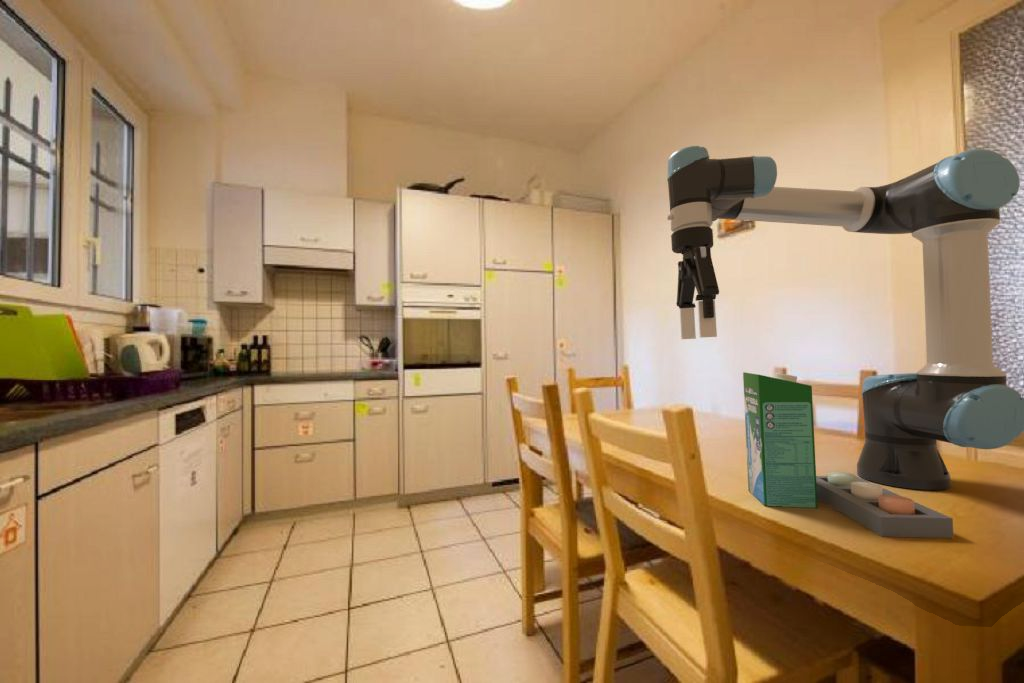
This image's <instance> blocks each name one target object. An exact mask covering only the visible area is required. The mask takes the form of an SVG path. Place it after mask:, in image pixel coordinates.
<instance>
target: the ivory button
mask: <svg viewBox="0 0 1024 683" xmlns="http://www.w3.org/2000/svg"><path fill="white" fill-rule="evenodd" d="M872 483H873V482H870V483H867V482H852V483H851V494H852V495H854V496H856V497H858V498H860V499H878V496H879V495H883V493H882V488H883V487H882V485H879V484H876V483H873V484H872Z"/></svg>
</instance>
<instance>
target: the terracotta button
mask: <svg viewBox="0 0 1024 683" xmlns="http://www.w3.org/2000/svg"><path fill="white" fill-rule="evenodd" d="M878 500H879V509H881V510H883V511H885V512H887V513H889V514H909V515H915V505H914V502H915V501H914V500H913V499H911V498H908V497H906V496H903V495H900V496H897V495H879V496H878Z"/></svg>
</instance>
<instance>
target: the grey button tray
mask: <svg viewBox="0 0 1024 683" xmlns="http://www.w3.org/2000/svg"><path fill="white" fill-rule="evenodd" d="M855 476H856V475H855ZM856 482H867V483H872V484H874V482H870V481H869V480H867V479H864V478H862V477H860V476H859V477H858V476H856ZM816 483H817V500H820V501H821V502H823V503H825V505H828V506H829V507H831V508H833V509H835V510H836V511H838V512H840V513H841V514H843V515H845V516H846V517H848V518H850V519H851V520H853V521H855V522H857V523H859V524H860V525H861V526H863V527H865V528H867V529H869V530H870V531H872V532H873V533H875V534H877V535H878V536H880V537H882V538H883V537H887V538H888V537H889V538H890V537H891V538H892V537H893V538H894V537H895V538H897V537H898V538H935V539H936V538H937V539H938V538H941V539H942V538H943V539H945V538H946V539H954V525H953V523H954V521H953V517H950V516H948V515H946V514H944V513H941V512H939V511H937V510H934V509H932V508H930V507H927V506H925V505H923V504H920V503H919V502H916V501H914V505H915V515H909V514H889V513H887V512H885V511H883V510H881V509H879V500H878V499H860V498H858V497H856V496H854V495H852V494H851V486H834V485H832V484H830V483H828V475H816ZM882 493H883V495H897V496H901V495H900V494H898V493H895V492H893V491H891V490H888V489H886V488H884V487H882Z"/></svg>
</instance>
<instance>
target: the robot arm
mask: <svg viewBox="0 0 1024 683" xmlns="http://www.w3.org/2000/svg"><path fill="white" fill-rule="evenodd" d="M777 169H778V168H777V163H776V161H775V160H774V158H772V157H770V156H768V155H767V156H761V155H760V156H755V155H751V156H745V157H744V156H743V157H742V156H740V157H732V158H730V157H729V158H710V155H709V152H708V149H707V148H706V147H705V146H700V145H692V146H691V145H690V146H686V147H683V148H680V149H677V150H676V151H674V152H673V153H672V154H671V155H670V156H669V159H668V161H667V187H668V198H669V200H668V201H669V212H670V214H668V215H667V220H668V221H670V230H671V232H673V233H672V234H671V235H670V238H671V239H670V240H671V251H672V252H673V253H674V254H681V255H682V260H680V261H678V263H677V268H678V272H677V273H678V276H677V294H676V307H678V308H679V319H680V320H679V321H680V335H681V336H680V337H681V338H680V339H681V340H692V339H693V340H694V339H697V337H696V336H697V335H696V333H697V332H696V321H695V308H696V307H697V314H698V330H699V332H698V333H699V338H717V337H718V333H717V330H718V329H717V315H716V297H717V295H719V294H720V288H719V284H718V281H717V276H716V272H715V269H714V264H713V259H712V253H711V251H712V248H713V247H714V233H713V232H714V230H713V228H712V226H713V224H714V223H713V222H715V221H717V220H718V219H719V220H735V221H750V222H752V221H753V222H763V223H765V222H766V223H782V224H796V225H812V226H825V227H827V226H828V227H841V228H842V229H843V230H845V231H846V232H848V233H860V234H876V235H877V234H879V235H904V234H906V235H908V234H911V237H912V238H914V239H916V240H918V241H919V242H921V244H922V261H923V262H922V266H923V294H924V316H925V317H924V320H925V321H924V322H925V346H926V348H925V349H926V352H925V353H926V364H925V365H924V366H923V367H921V368H920V369H919V370H918V371H916V372H910V373H907V372H906V373H893V374H878V375H870V376H866V377H865V378H864V379H863V381H862V391H861V396H862V406H863V407H862V408H863V409H862V410H863V420H864V421H863V423H864V425H863V426H864V438H865V439H864V443H863V447H862V449H861V452H860V454H859V457H858V461H857V463H856V475H858V476H859V478H861V479H863V480H866V481H869V482H870V481H871V482H872V483H875V484H876V483H877V484H881V485H886V486H890V487H891V486H892V487H896V488H903V489H913V490H927V491H928V490H929V491H936V490H946V489H949V488H950V487H952V483H951V481H952V480H951V475H950V472H949V470H948V468H947V466H946V464H945V462H944V460H943V457H942V455H941V453H940V451H939V449H938V444H937V441H939V442H944V443H948V444H953V445H955V446H958V447H961V448H972V449H973V448H974V449H979V450H995V449H1000V448H1003V447H1006V446H1007V445H1010V444H1011V443H1012V442H1014V440H1015V439H1017V438H1019V437H1020V436H1021V435H1022V434H1023V433H1024V397H1022V394H1021V393H1020V391H1017V390H1016V389H1014V388H1012V387H1010V386H1008V385H1007V375H1006V373H1005V372H1004V371H1002V370H1001V369H1000V368H998V367H996V365H995V364H994V361H993V337H992V334H993V333H992V311H991V286H990V285H991V284H990V283H991V282H990V268H989V267H990V261H989V258H990V257H989V240H988V238H989V236H988V235H989V234H990V232H991V231H992V230H993V229H995V228H996V227H997V226H998V225H999V224H1000V222H1001V221H1000V212H1001V211H1000V209H1001V208H1003V207H1005V206H1006V205H1007V204H1009V203H1010V202H1011V201H1013V199H1014V197H1016V195H1017V194H1018V192H1019V189H1020V183H1021V180H1020V176H1019V173H1018V171H1017V169H1016V167H1015V166H1014V164H1013V163H1012V162H1011V161H1010V160H1009V159H1008V158H1006V157H1004V156H1003V155H1002V154H1001V153H999V152H996V151H994V150H990V149H985V148H984V149H983V148H974V149H973V148H971V149H967V150H965V151H961V152H960V153H956V154H954V155H950V156H948V157H944V158H941V160H939V161H938V162H936V163H933V164H932V165H930V166H928V167H925V168H923V169H921V170H919V171H917V172H915V173H913V174H911V175H908V176H906V177H904V178H902V179H899V180H897V181H893V182H891V183H888V184H885V185H880V186H860V187H858V188H856V189H854V190H838V189H837V190H835V189H821V188H820V189H819V188H818V189H817V188H806V187H805V188H802V187H788V186H786V187H785V186H775V185H776V183H777V178H778V170H777ZM695 290H696V293H697V294H696V296H695ZM694 297H695V301H697V306H696V303H694Z"/></svg>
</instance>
